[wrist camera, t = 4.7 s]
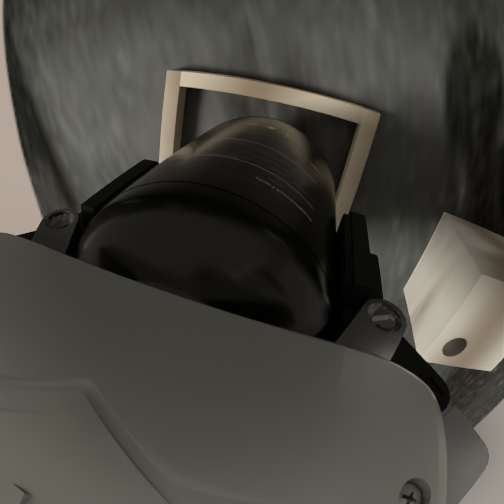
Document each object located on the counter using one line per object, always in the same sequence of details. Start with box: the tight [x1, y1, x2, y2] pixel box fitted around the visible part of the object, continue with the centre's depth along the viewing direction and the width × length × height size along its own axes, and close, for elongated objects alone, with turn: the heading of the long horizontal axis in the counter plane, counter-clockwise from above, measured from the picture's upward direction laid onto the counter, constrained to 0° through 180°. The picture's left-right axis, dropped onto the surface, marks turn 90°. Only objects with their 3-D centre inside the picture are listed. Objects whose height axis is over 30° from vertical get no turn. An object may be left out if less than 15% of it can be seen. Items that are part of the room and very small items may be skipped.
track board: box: [159, 69, 381, 232], centre depth 22 cm, size 11×30×1 cm, turn 170°
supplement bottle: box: [75, 116, 336, 341], centre depth 9 cm, size 7×7×12 cm
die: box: [403, 212, 504, 371], centre depth 15 cm, size 6×6×6 cm
